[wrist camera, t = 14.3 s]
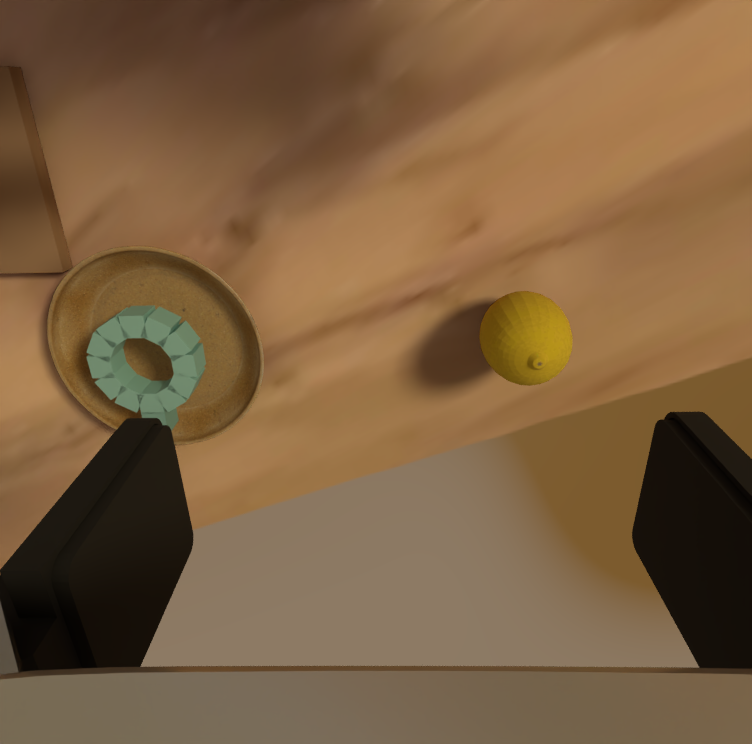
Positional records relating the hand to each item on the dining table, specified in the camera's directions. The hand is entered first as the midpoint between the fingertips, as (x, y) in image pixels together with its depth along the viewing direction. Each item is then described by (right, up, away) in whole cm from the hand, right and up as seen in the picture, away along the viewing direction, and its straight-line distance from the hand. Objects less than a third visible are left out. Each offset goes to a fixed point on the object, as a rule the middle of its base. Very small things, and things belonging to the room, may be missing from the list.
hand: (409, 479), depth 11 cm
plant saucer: (-16, +5, +30) cm, 34 cm away
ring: (-16, +3, +28) cm, 32 cm away
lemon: (+9, +6, +28) cm, 30 cm away
